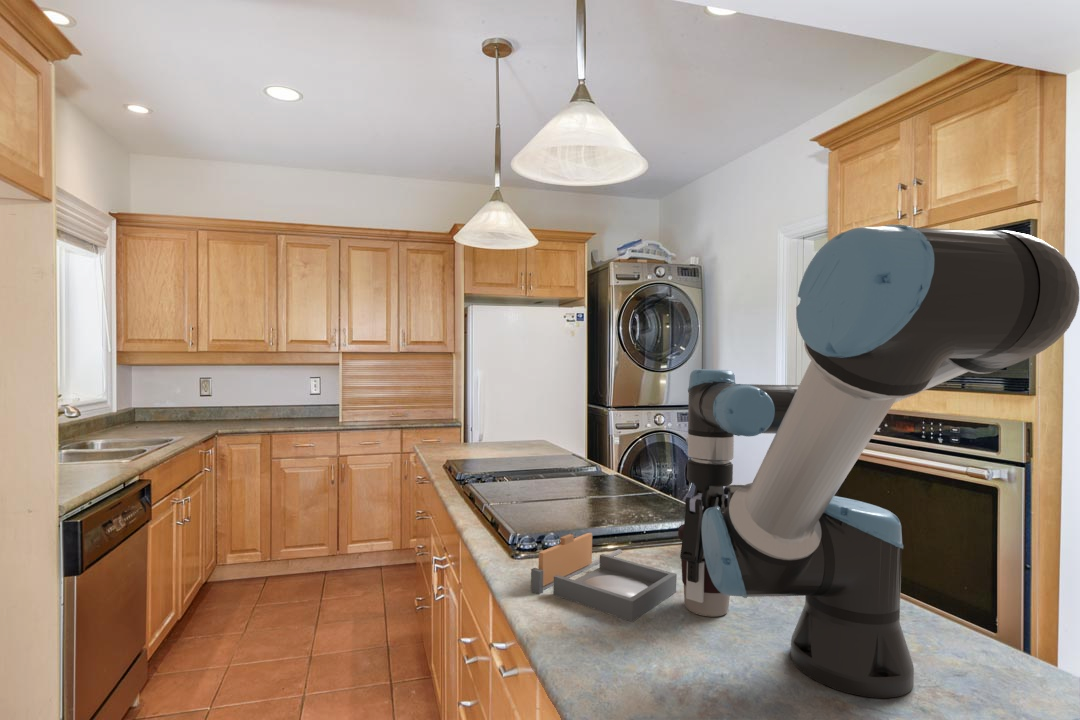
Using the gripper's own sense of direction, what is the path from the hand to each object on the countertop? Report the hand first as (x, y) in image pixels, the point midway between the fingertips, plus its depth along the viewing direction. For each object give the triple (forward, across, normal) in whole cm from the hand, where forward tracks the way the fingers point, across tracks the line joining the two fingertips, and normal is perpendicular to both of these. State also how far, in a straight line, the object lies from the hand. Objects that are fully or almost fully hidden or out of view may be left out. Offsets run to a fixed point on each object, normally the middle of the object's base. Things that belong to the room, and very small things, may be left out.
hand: (706, 590), depth 100 cm
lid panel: (+2, +5, -26) cm, 27 cm away
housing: (+3, 0, -17) cm, 17 cm away
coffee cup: (+3, 0, 0) cm, 3 cm away
